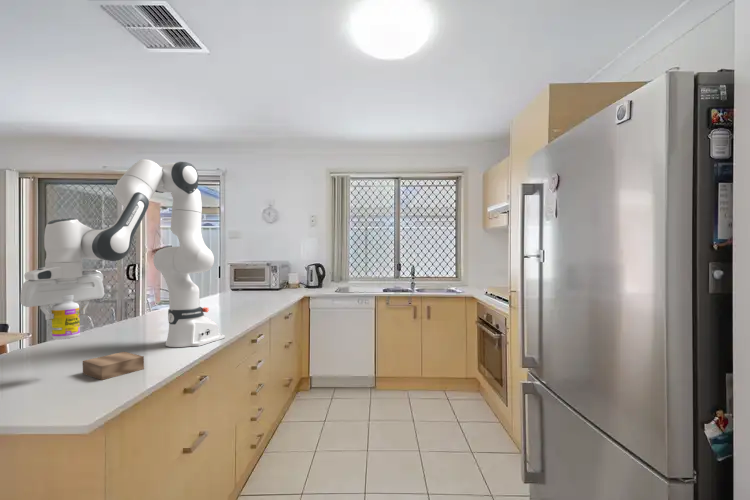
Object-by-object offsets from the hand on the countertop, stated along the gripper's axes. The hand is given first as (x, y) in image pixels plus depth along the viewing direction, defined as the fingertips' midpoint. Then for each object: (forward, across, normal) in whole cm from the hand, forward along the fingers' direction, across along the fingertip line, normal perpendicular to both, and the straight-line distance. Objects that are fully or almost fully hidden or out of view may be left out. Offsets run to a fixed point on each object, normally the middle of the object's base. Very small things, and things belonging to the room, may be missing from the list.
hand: (65, 317), depth 119 cm
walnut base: (+18, -9, +8) cm, 22 cm away
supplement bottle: (+6, 0, 0) cm, 6 cm away
